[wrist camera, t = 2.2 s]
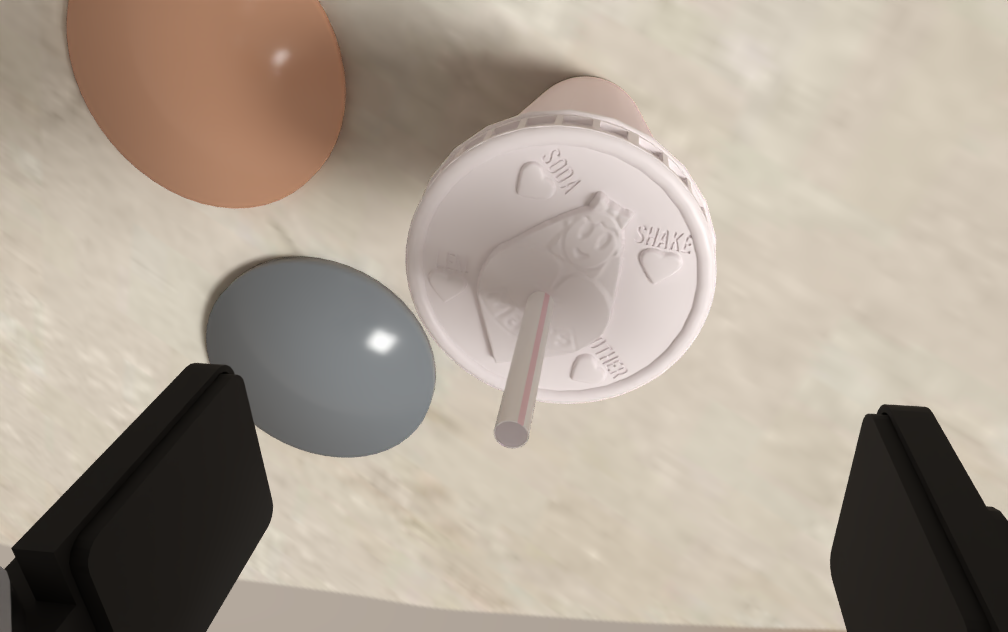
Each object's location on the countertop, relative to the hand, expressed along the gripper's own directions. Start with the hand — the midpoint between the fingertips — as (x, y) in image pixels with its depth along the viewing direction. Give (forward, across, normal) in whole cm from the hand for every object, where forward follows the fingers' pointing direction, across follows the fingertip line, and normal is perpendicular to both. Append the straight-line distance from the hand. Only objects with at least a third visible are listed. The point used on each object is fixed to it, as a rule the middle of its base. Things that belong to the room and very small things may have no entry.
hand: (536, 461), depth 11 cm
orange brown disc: (+15, +12, -3) cm, 19 cm away
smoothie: (+14, 0, -1) cm, 15 cm away
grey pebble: (+15, +10, +8) cm, 20 cm away
